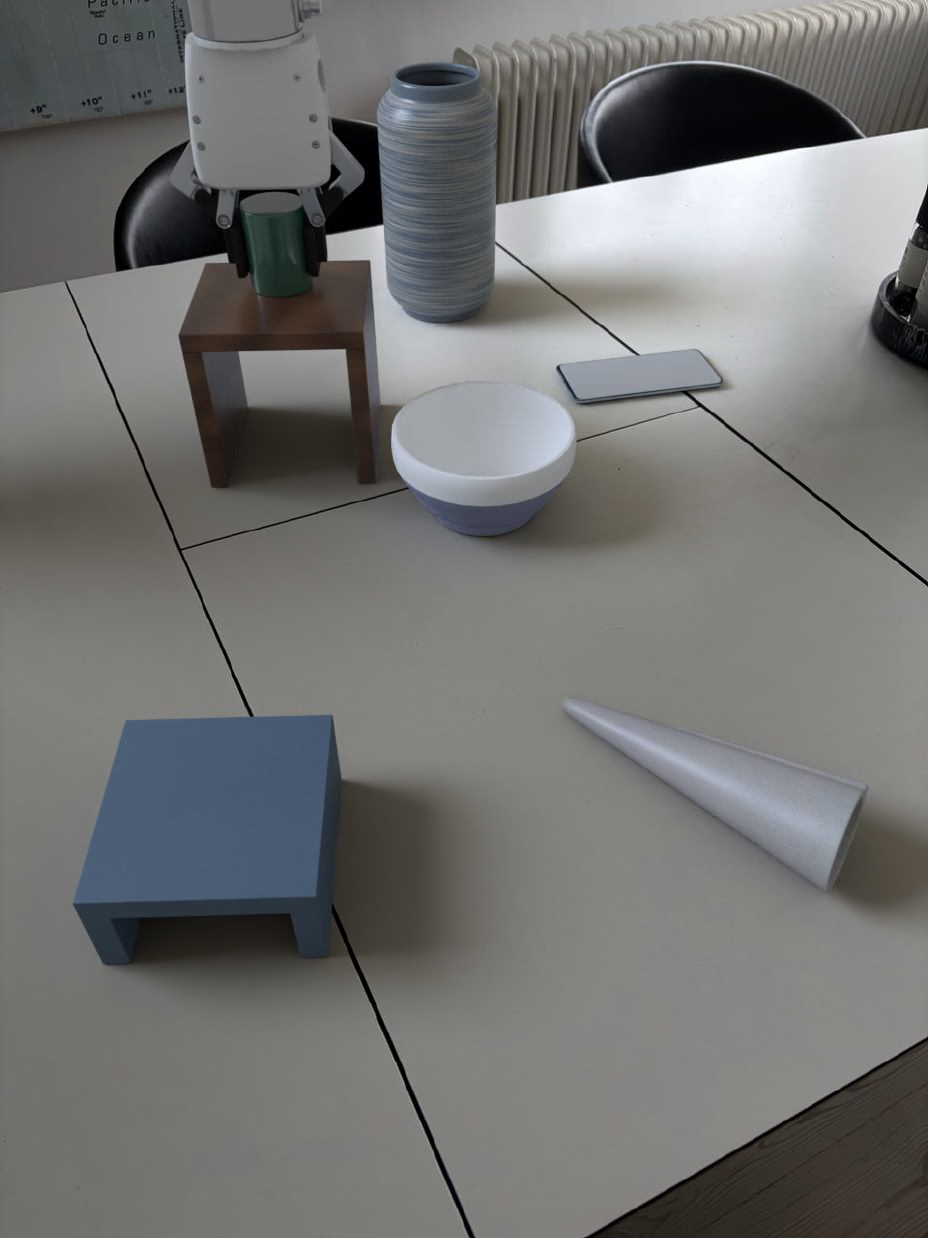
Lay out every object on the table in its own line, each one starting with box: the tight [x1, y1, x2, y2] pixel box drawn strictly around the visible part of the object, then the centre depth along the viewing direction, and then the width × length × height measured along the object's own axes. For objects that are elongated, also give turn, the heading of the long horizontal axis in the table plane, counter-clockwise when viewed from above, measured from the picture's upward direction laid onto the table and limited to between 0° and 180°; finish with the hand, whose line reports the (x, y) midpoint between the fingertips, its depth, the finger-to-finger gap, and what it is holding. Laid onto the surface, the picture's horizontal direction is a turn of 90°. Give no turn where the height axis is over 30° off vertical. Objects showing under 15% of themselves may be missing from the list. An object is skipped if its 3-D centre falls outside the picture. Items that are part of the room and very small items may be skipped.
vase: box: [376, 61, 498, 324], centre depth 102 cm, size 12×12×23 cm
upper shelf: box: [177, 259, 382, 488], centre depth 85 cm, size 14×13×14 cm
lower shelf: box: [72, 714, 343, 965], centre depth 56 cm, size 12×12×6 cm
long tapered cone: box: [562, 696, 869, 893], centre depth 60 cm, size 6×6×19 cm
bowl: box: [390, 380, 578, 537], centre depth 80 cm, size 14×14×8 cm
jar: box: [238, 191, 313, 297], centre depth 80 cm, size 5×5×6 cm
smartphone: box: [555, 348, 724, 404], centre depth 98 cm, size 7×1×15 cm
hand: (279, 268), depth 81 cm, fingers closed on jar, 5 cm apart
